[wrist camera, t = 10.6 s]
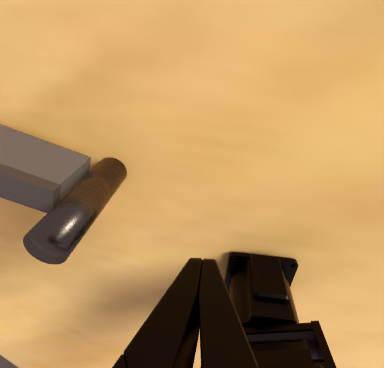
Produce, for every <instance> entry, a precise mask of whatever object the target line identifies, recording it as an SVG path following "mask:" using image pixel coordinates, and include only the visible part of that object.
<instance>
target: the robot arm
mask: <svg viewBox="0 0 384 368" xmlns="http://www.w3.org/2000/svg"><path fill="white" fill-rule="evenodd" d="M233 257H235V258H233ZM297 268H298V263H297V261H296V260H295V259H290V258H281V257H272V256H264V255H255V254H246V253H237V252H232V253H230V254H229V258H228V264H227V270H226V276H225V282H224V280H223V277H222V275H221V272H220V270H219V267H218V265H217V262H216V260H214V259H203V260H202V259H201V258H190V259H189V260H188V262H187V263H186V265H185V266H184V267H183V269H182V270H181V272H180V273H179V274H178V276H177V277H176V279H175V280H174V281H173V283H172V284H171V286H170V287H169V288H168V290H167V291H166V293H165V294H164V296H163V297H162V298H161V300H160V301H159V303H158V304H157V305H156V307H155V308H154V310H153V311H152V312H151V314H150V315H149V317H148V318H147V320H146V321H145V322H144V324H143V325H142V327H141V328H140V329H139V331H138V332H137V334H136V335H135V336H134V338H133V339H132V341H131V342H130V344H129V345H128V346H127V348H126V349H125V351H124V355H123V354H122V355H121V356H120V357H119V359H118V360H117V362H116V363H115V364H114V366H113V367H112V368H193V363H194V358H195V352H196V347H197V342H198V336H199V329H200V348H201V368H336V366H335V363H334V360H333V358H332V355H331V353H330V350H329V347H328V345H327V342H326V339H325V337H324V334H323V332H322V329H321V326H320V324H319V321H311V323H299V320H298V317H297V313H296V309H295V305H294V301H293V298H292V294H291V290H290V286H291V283H292V281H293V278H294V276H295V273H296V270H297Z"/></svg>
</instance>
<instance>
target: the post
mask: <svg viewBox="0 0 384 368" xmlns="http://www.w3.org/2000/svg"><path fill="white" fill-rule="evenodd" d="M126 175H127V171H126V168H125V166H124V165H123V163H122V162H120V161H119V160H117V159H115V158H105V159H103V160H102V161H101V162H100V163H99V164H98V165H97V166H96V167H95V168H94V169H93V170H92V171H91V172H90V173H89V174H88V175H87V176H85V177H84V178H83V179H82V180H81V181H80V182H79V183H78V184H77V185H76V186H75V187H74V188H73V189H72V190H71V191H70V192H69V193H68V194H67V195H66V196H65V197H64V198H63V199H62V200H61V201H60V202H59V203H58V204H57V205H56V206H55V207H54V208H53V209H52V210H51V211H50V212H49V213H48V214H46V215H45V216H44V217H43V218H42V219H41V220H40V221H39V222H38V223H37V224H36V225H35V226H34V227H33V228H32V229H31V230H30V231H29V232H28V233H27V234H26V235H25V236H24V239H23V243H24V246H25V248H26V250H27V251H28V252H29V253H30V254H31V255H32V256H33V257H35V258H36V259H38V260H40V261H42V262H45V263H48V264H61V263H63V262H65V261H66V259H67V258H68V257H69V255H70V254H71V252H72V251H73V250H74V248H75V247H76V246H77V244H78V243H79V241H80V240H81V239H82V237H83V236H84V235H85V233H86V232H87V230H88V229H89V228H90V226H91V225H92V223H93V222H94V221H95V219H96V218H97V217H98V215H99V214H100V212H101V211H102V210H103V208H104V207H105V206H106V204H107V203H108V201H109V200H110V199H111V197H112V196H113V195H114V193H115V192H116V190H117V189H118V188H119V186H120V185H121V183H122V182H123V181H124V179H125V178H126Z"/></svg>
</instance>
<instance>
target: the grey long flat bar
mask: <svg viewBox="0 0 384 368" xmlns="http://www.w3.org/2000/svg"><path fill="white" fill-rule="evenodd" d="M90 159H91V157H88V156H85V155H83V154H80V153H77V152H74V151H72V150H69V149H66V148H64V147H61V146H58V145H55V144H53V143H50V142H47V141H44V140H42V139H39V138H36V137H33V136H31V135H28V134H25V133H23V132H20V131H17V130H14V129H12V128H9V127H6V126H3V125H1V124H0V197H2V198H5V199H7V200H10V201H13V202H16V203H19V204H22V205H25V206H28V207H31V208H34V209H37V210H40V211H42V212H45V213H49V212H50V211H51V210H52V209H53V208H54V207H55V206H56V205H57V204H58V203H59V202H60V201H61V200H62V199H63V198H64V197H65V196H66V195H67V194H68V193H69V192H70V191H71V190H72V189H73V188H74V187H75V186H76V185H77V184H78V183H79V182H80V181H81V180H82V179H83V178H84V177H85V176H86V175H88V174H89V167H90Z"/></svg>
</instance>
